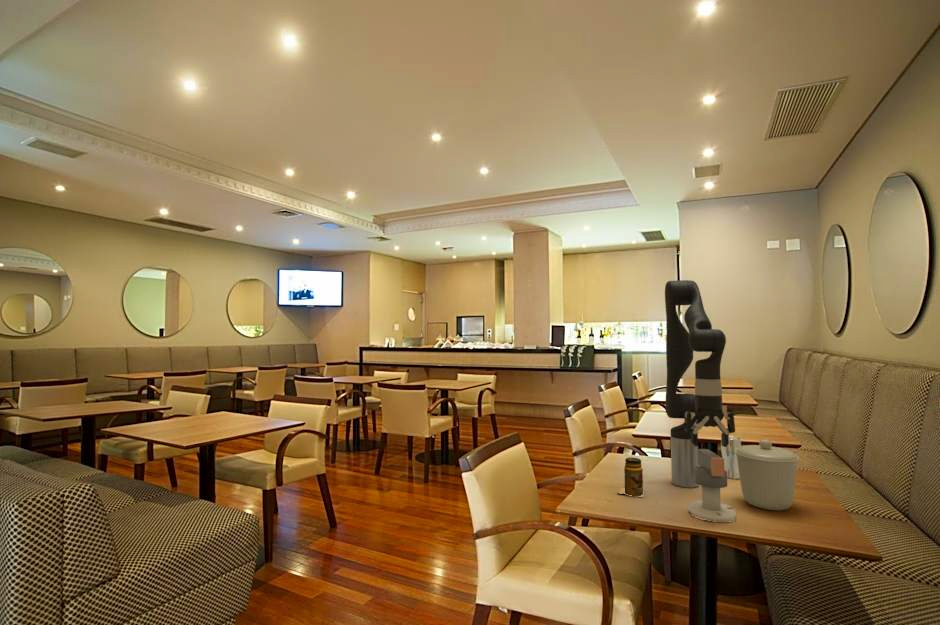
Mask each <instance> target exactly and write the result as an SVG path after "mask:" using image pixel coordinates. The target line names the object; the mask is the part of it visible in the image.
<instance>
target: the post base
mask: <svg viewBox="0 0 940 625" xmlns="http://www.w3.org/2000/svg"><path fill="white" fill-rule="evenodd" d="M701 496H702V497H701V500H693V501H691V502H689V503H688V513H689V512H690V513H691V514H692V515H694V516H696V517H699V518H702V519H706V520H710V521H716V522H729V521H733V520H735V519H736V518H737V514H736V513H737V512H736V509H735V508H734V507H733V506H730V505H728V504H726V503H721V488H711V487H705V486H701ZM692 515H691V516H692ZM735 521H736V520H735ZM733 522H734V521H733ZM729 523H730V522H729Z"/></svg>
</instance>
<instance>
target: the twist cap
mask: <svg viewBox="0 0 940 625" xmlns="http://www.w3.org/2000/svg"><path fill="white" fill-rule="evenodd" d="M698 465H699V466H698V467H695V468H694V470H695V483H697V484H699V486H701V487H702V486H705V487H711V488H720V489H723V488H726V487H728V478H727V471H726V470H724V459H723V458H722V456H720V455H718V454H716V453H715V452H713V451H711V449H708V448H698Z"/></svg>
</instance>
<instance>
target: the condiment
mask: <svg viewBox="0 0 940 625" xmlns="http://www.w3.org/2000/svg"><path fill="white" fill-rule="evenodd" d="M624 461H625V463H624V468H623V469H624V472H623V473H624V488H625V493H626V494H628V495H632V496H641V495H643V491H644V478H643V477H644V476H643V471H644V470H643V467H642V460H641V459H640V458H638V457H626V458H625V460H624ZM644 493H645V494H646V492H645V491H644Z"/></svg>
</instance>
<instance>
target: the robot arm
mask: <svg viewBox="0 0 940 625" xmlns="http://www.w3.org/2000/svg"><path fill="white" fill-rule="evenodd" d="M664 302H665V304H664V305H665V316H666V340H665V341H666V342H665V349H666V350H665V353H666V354H665V355H666V358H665V359H666V386H665V387H666V388H665V412H666V415H667V417H668V418H670V419H681V420H682V419H684V420H683V423H681V424H679V425H676V426H673V427H672V428H671V429H670V462H671V467H670V468H671V473H670V474H671V484H673V485H675V486H678V487H681V488H689V489H691V488H697V487H699V486H700V485H699V484H697V483H695V470H694V468H695V467H698V466H699V465H698V449H699V439H698V438H699V436H698V434H699V430H702V429H703V427H706V428H708V427H713V428H716V427H717V428H718V429H719V430H720V431H721V433H720V434H721V438H722V446H723V447H727V445H728V444H729V436H730V434H732V433H733V434H734V433H735V432H736V425H735V424H736V423H735V415H734V413H733V412H730V411H727V412H723V388H722V381H721V362H722V358H723V354H724V351H725V347H726V343H727V339H726V334H725V333H724V332H723V331H722V330H721V329H717V328H716V329H715V328H714V329H713V325H712V322H711V320H710V318H709V317H708V315H707V313H706V311H705V307H704V303H703V300H702V296H701V291H700V288H699V286H698V284H697V282H696V281H694V280H692V279H691V280H690V279H688V280H687V279H686V280H679V279H678V280H668V281H667V282H666V284H665V285H664ZM677 306H688V308H687V309H686V310H685V313H684V316H683V317H684V319H683V320H684V323H685V325H686V327H687V328H686V327H685V326H684V325H683V323H682V321H681V320H680V318H679V315H678V312H677ZM694 352H696V353H697V352H698V353H701V352H702V353H703V352H704V353H708V352H709V353H710V355H709V357H707V358H702V359H698V360H696V361H695V365H694V368H695V369H694V370H695V373H694V374H695V375H694V376H695V378H694V380H695V381H694V393H681V392H680V393H679V392H678V393H677V390H678V386H679V383H680V382H681V379H682V378H683V376H684V374H685V373H686V372H687V371H688V369H689V367H690V366H691V364H692V362H693V360H694ZM724 418H725V420H726V424H727V426H725V424H724V423H723V422H722V420H723V419H724Z"/></svg>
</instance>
